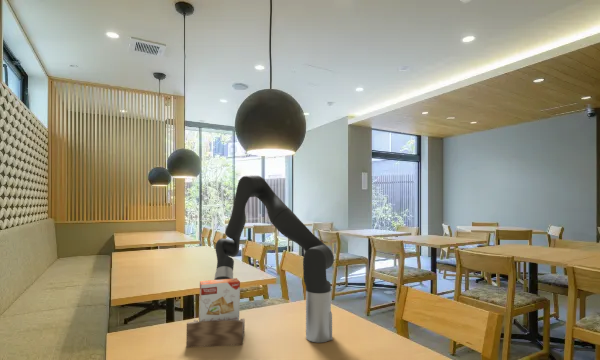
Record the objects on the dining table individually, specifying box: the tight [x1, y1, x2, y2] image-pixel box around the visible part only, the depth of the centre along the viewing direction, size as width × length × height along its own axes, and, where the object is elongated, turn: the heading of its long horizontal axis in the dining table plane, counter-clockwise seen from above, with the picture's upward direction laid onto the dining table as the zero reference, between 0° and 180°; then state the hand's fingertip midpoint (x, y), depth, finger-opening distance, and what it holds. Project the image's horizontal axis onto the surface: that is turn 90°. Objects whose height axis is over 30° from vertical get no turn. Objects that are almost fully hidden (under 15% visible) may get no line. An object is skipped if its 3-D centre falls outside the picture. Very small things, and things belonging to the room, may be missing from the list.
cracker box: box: [198, 277, 241, 322], centre depth 123 cm, size 14×6×21 cm, turn 112°
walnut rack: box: [185, 318, 246, 348], centre depth 122 cm, size 19×12×8 cm, turn 95°
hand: (218, 321), depth 126 cm, fingers closed
